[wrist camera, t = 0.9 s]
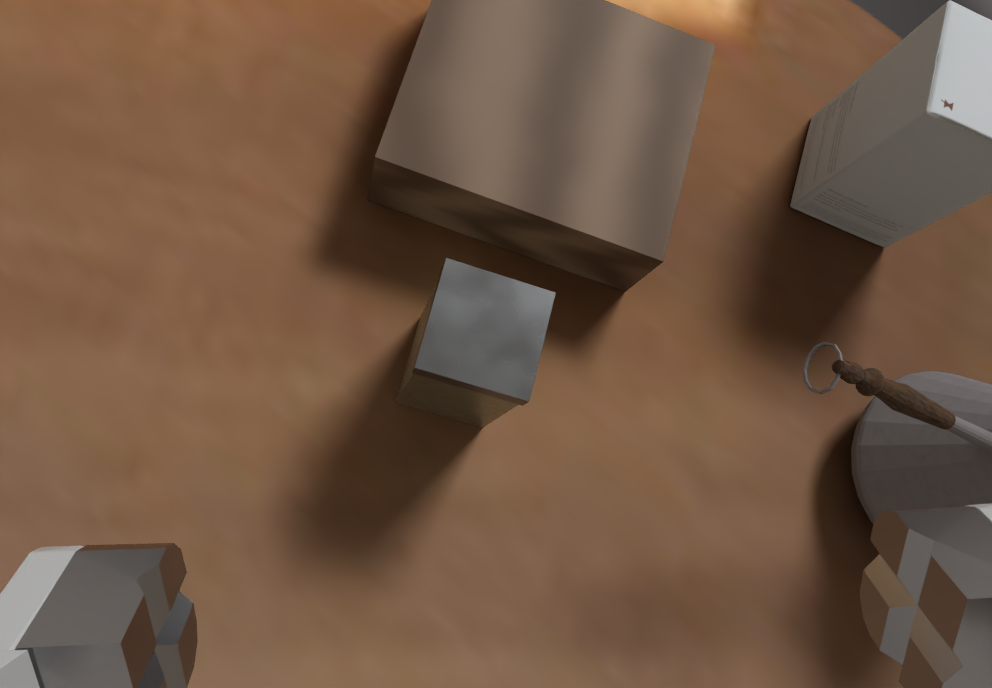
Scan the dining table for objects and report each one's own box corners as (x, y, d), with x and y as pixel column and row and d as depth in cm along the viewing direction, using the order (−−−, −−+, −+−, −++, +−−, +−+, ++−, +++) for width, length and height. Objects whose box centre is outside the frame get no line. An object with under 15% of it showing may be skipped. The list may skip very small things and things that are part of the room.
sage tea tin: (393, 403, 45) (414, 367, 35) (418, 315, 46) (446, 257, 37) (484, 429, 46) (529, 401, 36) (506, 342, 47) (555, 292, 37)
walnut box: (367, 202, 47) (374, 156, 42) (438, 5, 51) (453, -61, 46) (623, 293, 50) (663, 261, 44) (672, 97, 53) (715, 45, 48)
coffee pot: (995, 403, 53) (1247, 354, 39) (988, 586, 50) (1258, 606, 36) (689, 320, 50) (841, 232, 35) (661, 510, 47) (815, 498, 32)
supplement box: (885, 251, 54) (1050, 169, 42) (785, 207, 53) (924, 110, 41) (906, 156, 56) (1069, 52, 44) (810, 112, 55) (949, -6, 43)
